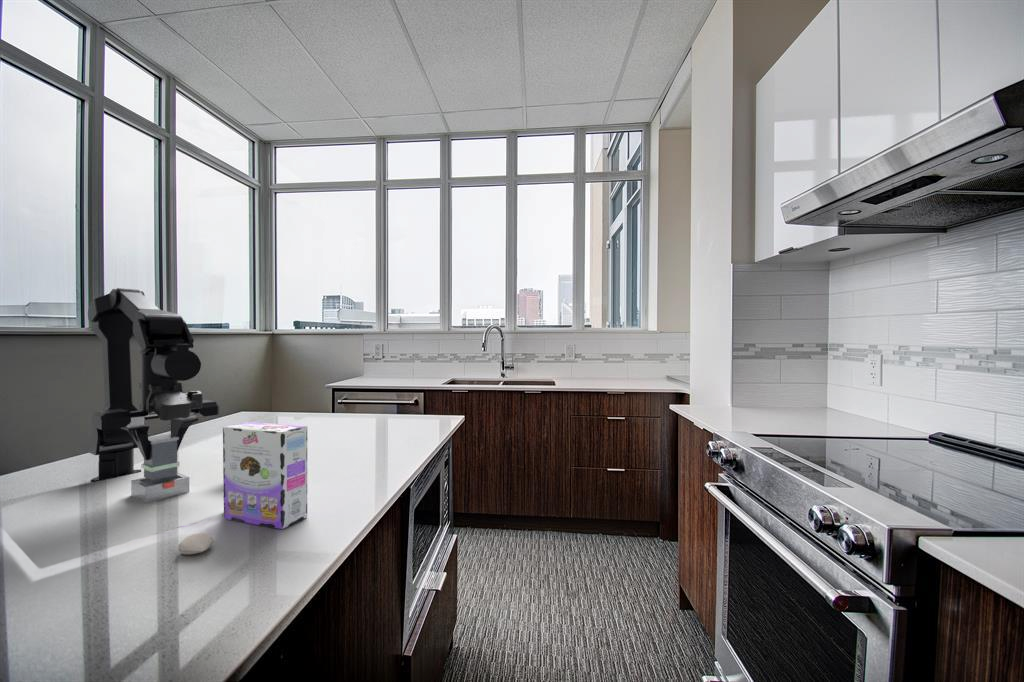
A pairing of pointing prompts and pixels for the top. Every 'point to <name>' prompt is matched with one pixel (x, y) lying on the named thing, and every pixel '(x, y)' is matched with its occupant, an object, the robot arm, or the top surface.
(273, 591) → the top surface
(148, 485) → the stand base
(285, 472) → the candy box
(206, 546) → the white rounded lump
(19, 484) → the top surface
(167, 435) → the column
